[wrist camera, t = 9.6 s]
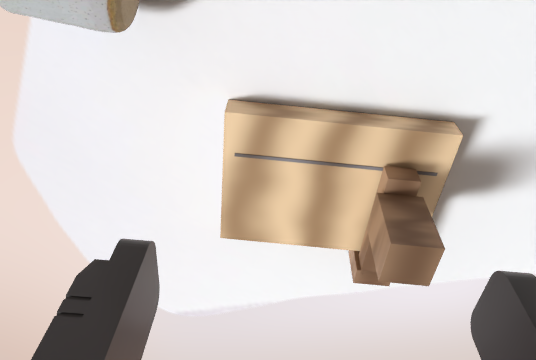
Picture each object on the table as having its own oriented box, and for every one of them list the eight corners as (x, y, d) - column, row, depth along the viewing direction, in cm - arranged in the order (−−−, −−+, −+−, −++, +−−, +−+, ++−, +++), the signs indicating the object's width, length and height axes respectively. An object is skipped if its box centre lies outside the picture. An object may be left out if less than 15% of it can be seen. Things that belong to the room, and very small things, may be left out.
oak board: (454, 122, 38) (463, 136, 36) (410, 239, 46) (416, 257, 44) (228, 99, 38) (224, 112, 36) (223, 221, 46) (220, 238, 44)
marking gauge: (416, 155, 40) (451, 233, 31) (383, 255, 47) (404, 341, 38) (373, 151, 40) (396, 228, 31) (346, 251, 47) (359, 337, 38)
